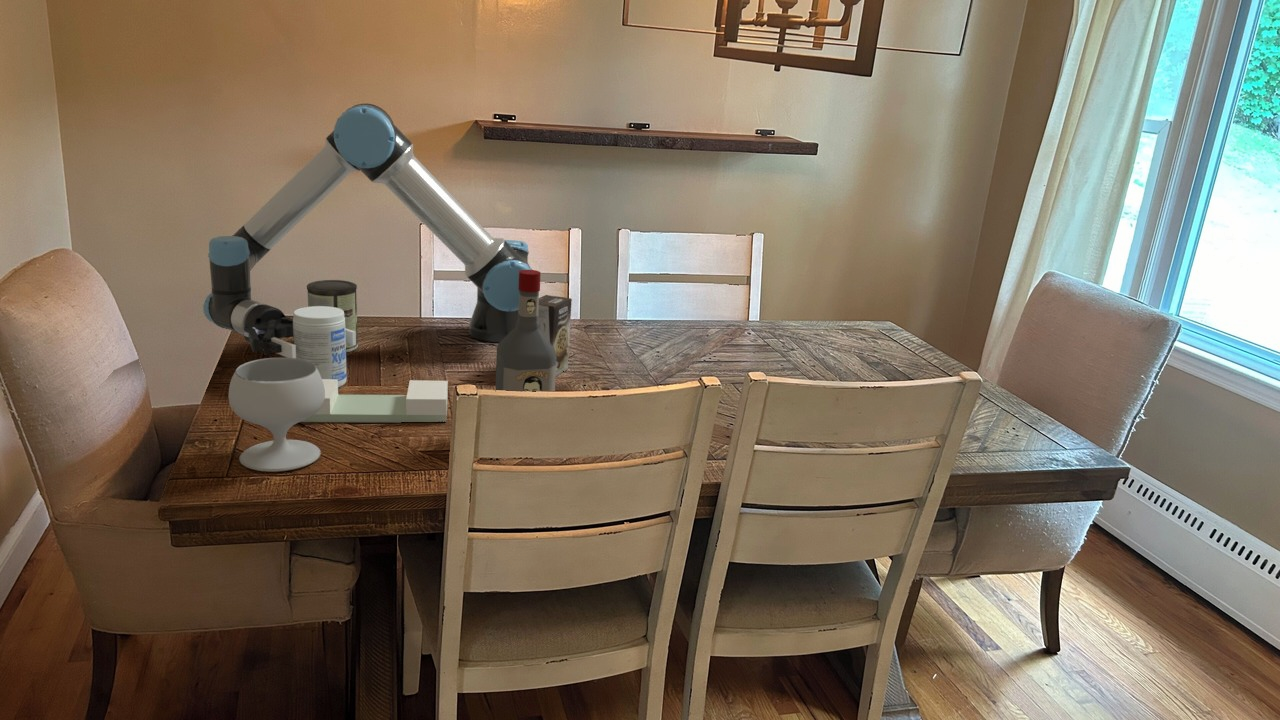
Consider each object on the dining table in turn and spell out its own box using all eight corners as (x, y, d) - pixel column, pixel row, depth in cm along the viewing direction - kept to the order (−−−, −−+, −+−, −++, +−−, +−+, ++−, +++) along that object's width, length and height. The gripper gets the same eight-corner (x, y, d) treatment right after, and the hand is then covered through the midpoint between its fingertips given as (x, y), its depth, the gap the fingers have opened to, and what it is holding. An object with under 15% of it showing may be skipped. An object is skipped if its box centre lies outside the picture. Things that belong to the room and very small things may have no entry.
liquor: (491, 430, 160) (496, 266, 151) (541, 426, 164) (548, 265, 155) (503, 450, 152) (509, 278, 143) (555, 446, 156) (564, 278, 147)
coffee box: (551, 381, 188) (554, 306, 183) (523, 375, 190) (526, 301, 185) (569, 369, 196) (573, 297, 191) (542, 364, 198) (545, 293, 193)
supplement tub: (344, 392, 173) (342, 318, 168) (292, 392, 170) (289, 318, 166) (348, 375, 182) (346, 305, 177) (299, 375, 179) (296, 304, 175)
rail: (447, 402, 171) (447, 380, 170) (446, 422, 162) (446, 399, 161) (298, 401, 166) (298, 378, 165) (288, 422, 157) (287, 397, 156)
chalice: (227, 479, 135) (220, 385, 130) (238, 442, 147) (232, 355, 143) (325, 473, 139) (322, 383, 134) (328, 438, 152) (325, 354, 147)
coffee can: (321, 338, 203) (319, 277, 199) (365, 342, 203) (364, 282, 198) (300, 351, 194) (298, 288, 189) (346, 356, 193) (345, 292, 189)
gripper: (313, 328, 195) (377, 350, 183) (203, 351, 175) (267, 378, 164) (311, 294, 192) (377, 315, 181) (200, 314, 173) (265, 338, 161)
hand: (325, 345), depth 172 cm, fingers open, 13 cm apart
